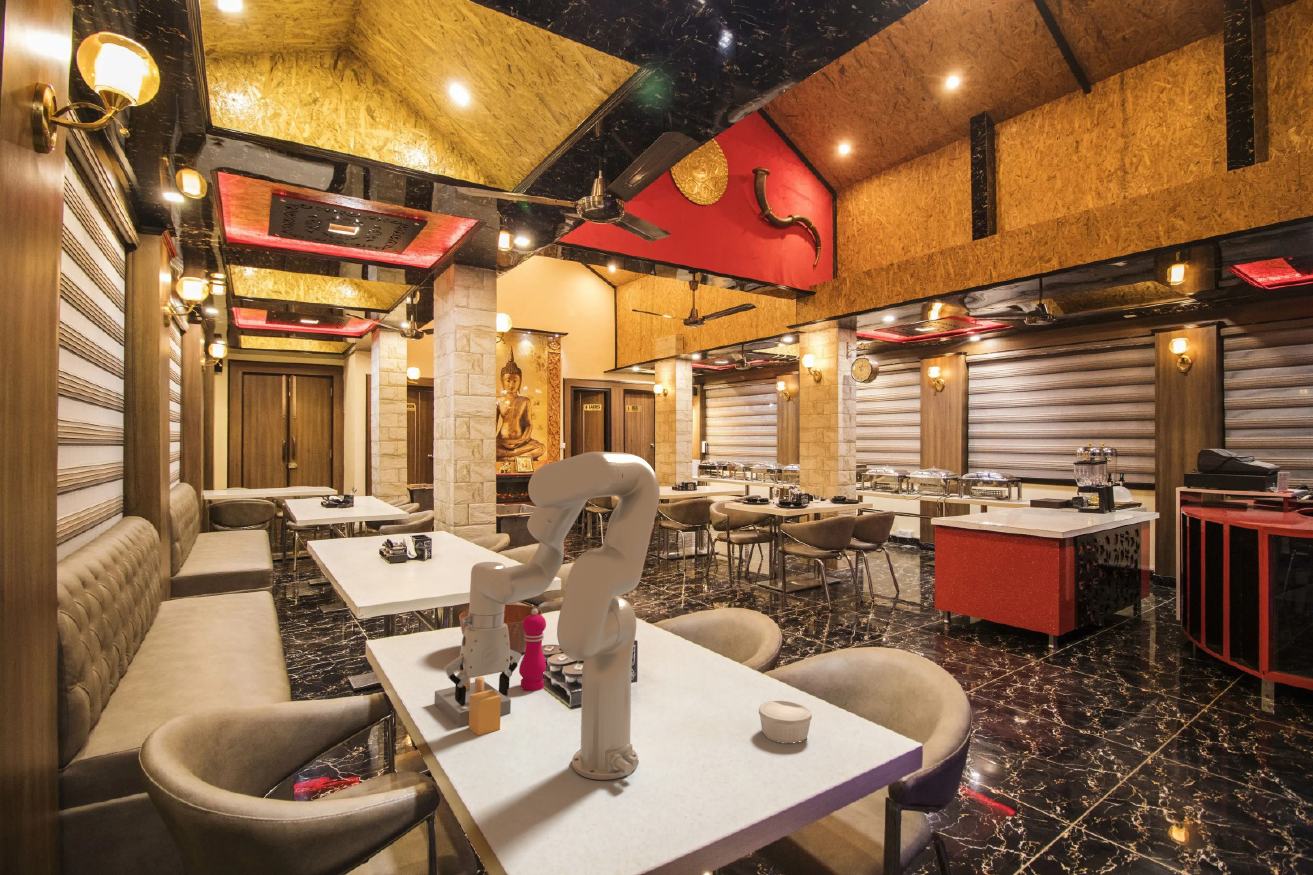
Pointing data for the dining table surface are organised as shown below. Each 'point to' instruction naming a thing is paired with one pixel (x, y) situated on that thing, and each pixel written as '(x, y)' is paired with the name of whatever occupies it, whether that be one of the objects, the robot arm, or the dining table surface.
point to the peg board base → (466, 701)
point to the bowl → (511, 624)
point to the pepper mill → (533, 652)
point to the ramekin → (785, 721)
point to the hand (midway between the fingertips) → (482, 698)
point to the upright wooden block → (484, 712)
